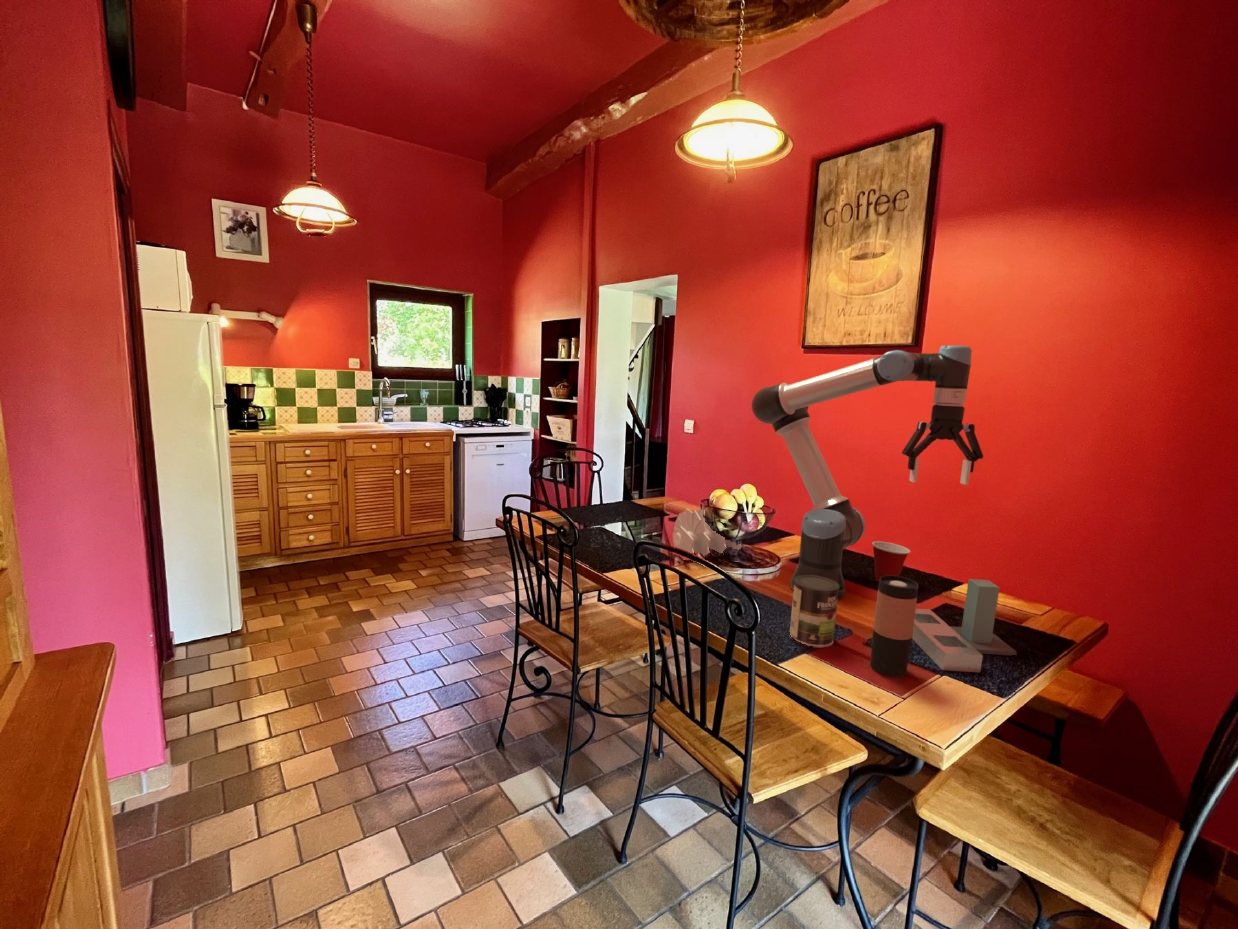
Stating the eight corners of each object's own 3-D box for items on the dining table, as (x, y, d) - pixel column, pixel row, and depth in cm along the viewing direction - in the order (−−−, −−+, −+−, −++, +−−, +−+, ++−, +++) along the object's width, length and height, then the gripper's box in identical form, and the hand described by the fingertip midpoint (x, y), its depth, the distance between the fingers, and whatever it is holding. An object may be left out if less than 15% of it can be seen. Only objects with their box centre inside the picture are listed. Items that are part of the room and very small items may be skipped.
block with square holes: (942, 670, 124) (944, 653, 123) (896, 622, 148) (898, 607, 147) (980, 672, 124) (982, 655, 123) (927, 624, 147) (929, 609, 147)
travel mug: (862, 660, 127) (872, 575, 124) (894, 660, 128) (905, 575, 124) (880, 678, 120) (891, 588, 116) (915, 678, 120) (926, 588, 117)
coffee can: (843, 643, 135) (849, 586, 133) (811, 651, 130) (817, 593, 128) (810, 625, 144) (815, 572, 142) (779, 632, 139) (784, 577, 137)
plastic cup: (912, 590, 170) (917, 552, 168) (876, 588, 170) (881, 550, 168) (896, 577, 181) (900, 541, 179) (862, 575, 181) (866, 539, 179)
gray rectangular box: (971, 642, 136) (979, 586, 133) (960, 633, 140) (968, 579, 138) (990, 643, 135) (999, 587, 133) (980, 634, 140) (988, 580, 138)
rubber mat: (962, 652, 132) (963, 648, 132) (937, 629, 144) (938, 625, 144) (1016, 655, 132) (1016, 651, 132) (986, 632, 144) (986, 628, 143)
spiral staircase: (669, 569, 193) (730, 557, 203) (695, 562, 177) (759, 550, 188) (658, 516, 197) (718, 507, 207) (683, 505, 181) (746, 496, 192)
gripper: (906, 403, 148) (897, 483, 152) (1005, 407, 147) (993, 487, 151) (894, 402, 156) (886, 478, 159) (988, 405, 154) (977, 482, 158)
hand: (938, 483), depth 155 cm, fingers open, 13 cm apart
